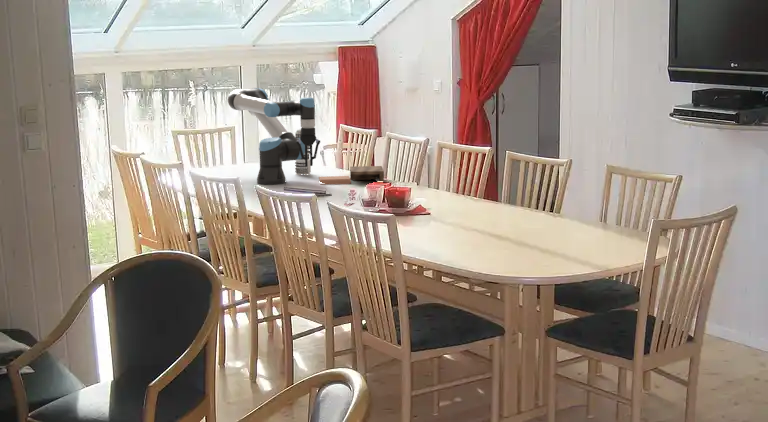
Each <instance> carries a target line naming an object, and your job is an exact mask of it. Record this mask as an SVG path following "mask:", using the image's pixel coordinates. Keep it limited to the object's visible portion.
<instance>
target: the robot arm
mask: <svg viewBox="0 0 768 422" xmlns="http://www.w3.org/2000/svg"><path fill="white" fill-rule="evenodd" d="M227 102H228V105H229V107H230V108H231V109H233V110H235V111H241V112H242V111H248V112H249V114H250V115H251V116H253V117H255V116H256V117H255V118H257V119H258V121H259V123H260V124H261V125H262V126H263V128H264V129H265V130H266V132H267V133H268V134H269V136H270V137H267V138H264V139H261V140H260V141H259V144H258V145H259V146H258V151H259V170H258V174H257V178H256V183H257V184H259V185H281V184H284V183H286V182H285V181H287V179H286V178H287V177H286V175H285V173H284V170H283V162H290V161H296V160H298V159H301V158H302V159H305V165H306V166H308V173H310V174H311V172H312V171H311V167H312V166H313V163H314V162H313V160H315V159H316V158H317V153H318V150H319V145H320V143H321V140H320V139H318V138H317V136H316V111H315V110H316V109H315V107H316V105H315V99H314V98H313V97H301V98H300V99H299V101H298V100H288V101H273V100H269V96H268V93H267V92H266V91H265V89H263V88H259V87H252V88H237V89H234V90H233V91H231V92H230V93H229V95H228V96H227ZM291 116H300V127H301V128H300V130H301V137H300V138H296V137H295V135H294V134H293V132H290V131H288V130H287V129H286V127H285V126H284V125H283V124H282V123H281V121H280V120H279V118H278V117H291ZM314 143H315V148H314V153H313V145H314ZM307 145H310V149H309V151H310V154H309V159H310V160H308V155H307ZM304 154H305V157H304Z"/></svg>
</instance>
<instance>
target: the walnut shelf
mask: <svg viewBox="0 0 768 422" xmlns="http://www.w3.org/2000/svg"><path fill="white" fill-rule="evenodd" d="M384 176H385V171H384V169H383V166H382V165H371V166H370V165H368V166H367V165H366V166H365V165H364V166H362V165H361V166H360V165H359V166H354V165H353V166H350V168H349V177H350V179H351V181H364V180H366V181H367V180H368V181H371V179H376V180H375V181H384V180H385V177H384ZM384 182H385V181H384Z"/></svg>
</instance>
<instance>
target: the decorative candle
mask: <svg viewBox="0 0 768 422" xmlns="http://www.w3.org/2000/svg"><path fill="white" fill-rule="evenodd" d="M294 133H295V135H294V136H295V137H296V138H300V137H301V129H297V130H296V131H295V132H294ZM307 155H308V160H310V145H307ZM304 157H305V154H304ZM294 164H295V165H294V166H295V167H294V169H295V172H294V173H295V176H302V175H301V174H305V175H304V176H308V175H307V174H310V175H311V172H310V173H308V166H306V165H305V159H302V158H301V159H298V160H295V162H294Z"/></svg>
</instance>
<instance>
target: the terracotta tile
mask: <svg viewBox="0 0 768 422" xmlns="http://www.w3.org/2000/svg"><path fill="white" fill-rule="evenodd" d="M319 181H320V182H322V183H325V184H324V185H345V184H346V185H347V184H348V185H349V184H352V183H351V182H352V180H351V179H350V175H335V176H327V175H326V176H318V182H319Z"/></svg>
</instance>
